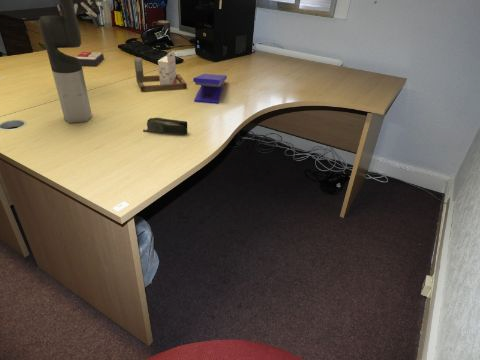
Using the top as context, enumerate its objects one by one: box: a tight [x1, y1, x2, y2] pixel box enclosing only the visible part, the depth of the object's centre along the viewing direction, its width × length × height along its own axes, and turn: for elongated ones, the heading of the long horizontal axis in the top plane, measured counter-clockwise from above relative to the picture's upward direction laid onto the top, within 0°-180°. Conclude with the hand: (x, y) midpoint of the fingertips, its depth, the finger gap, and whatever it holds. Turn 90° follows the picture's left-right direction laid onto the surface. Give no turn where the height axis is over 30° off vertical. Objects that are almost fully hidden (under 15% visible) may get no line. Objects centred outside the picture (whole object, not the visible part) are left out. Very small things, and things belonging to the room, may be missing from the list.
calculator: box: [75, 51, 105, 68], centre depth 174 cm, size 11×4×15 cm
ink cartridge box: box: [157, 49, 177, 85], centre depth 150 cm, size 9×5×15 cm, turn 168°
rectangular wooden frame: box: [133, 56, 188, 92], centre depth 149 cm, size 14×21×12 cm
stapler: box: [193, 73, 228, 105], centre depth 148 cm, size 12×28×10 cm, turn 177°
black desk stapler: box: [142, 117, 188, 136], centre depth 114 cm, size 5×3×15 cm
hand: (87, 30), depth 129 cm, fingers open, 8 cm apart
